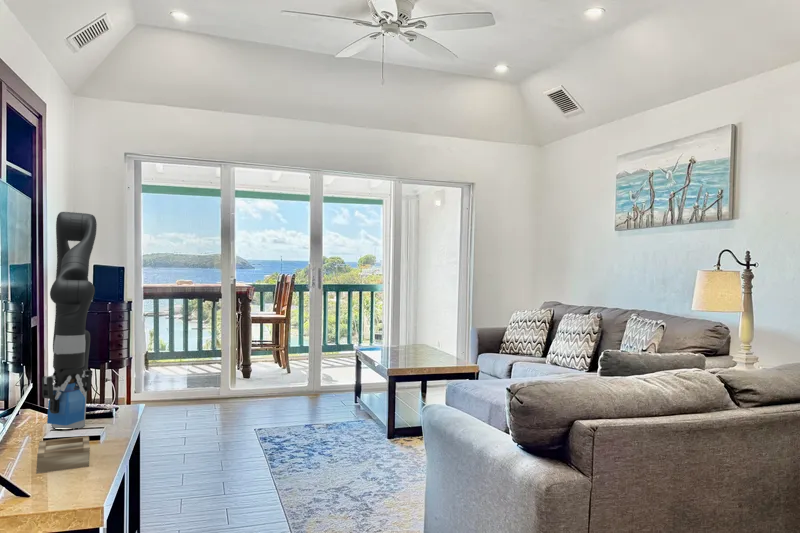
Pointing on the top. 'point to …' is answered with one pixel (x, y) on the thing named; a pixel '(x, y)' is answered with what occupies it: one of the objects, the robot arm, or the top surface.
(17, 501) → the top surface
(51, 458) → the square tray
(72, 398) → the perfume bottle
